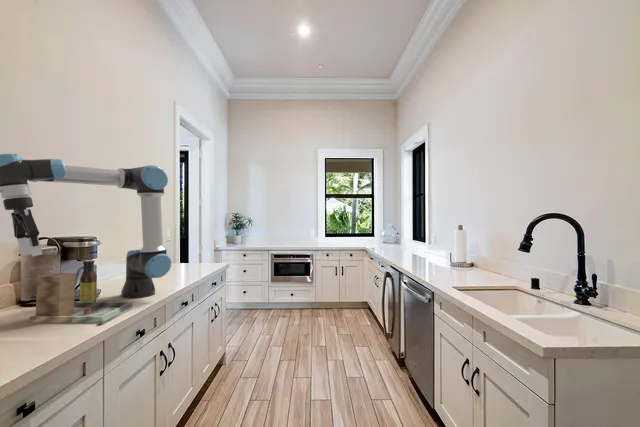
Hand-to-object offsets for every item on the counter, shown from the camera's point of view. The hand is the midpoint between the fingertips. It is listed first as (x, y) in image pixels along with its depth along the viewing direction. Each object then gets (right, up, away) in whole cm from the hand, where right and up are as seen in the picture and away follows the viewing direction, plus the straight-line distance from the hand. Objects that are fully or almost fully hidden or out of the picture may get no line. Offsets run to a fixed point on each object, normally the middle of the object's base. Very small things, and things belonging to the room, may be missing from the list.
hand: (31, 255), depth 115 cm
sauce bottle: (+1, -26, +26) cm, 37 cm away
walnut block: (+5, -24, +4) cm, 25 cm away
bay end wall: (+25, -26, +5) cm, 36 cm away
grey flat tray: (+13, -25, +9) cm, 30 cm away
